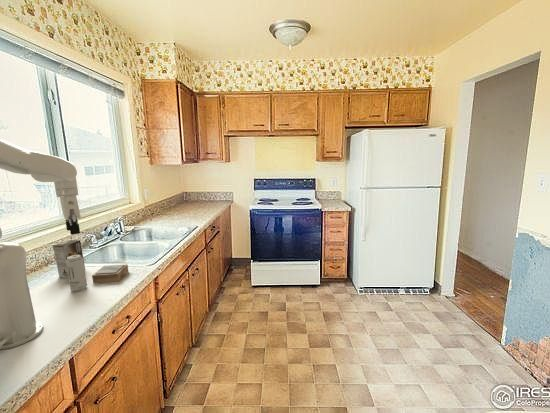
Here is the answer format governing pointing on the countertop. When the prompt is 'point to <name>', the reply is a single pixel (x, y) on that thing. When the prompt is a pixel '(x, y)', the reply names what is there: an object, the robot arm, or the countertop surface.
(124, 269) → the plate
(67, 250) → the coffee box
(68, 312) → the countertop surface
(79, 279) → the energy drink can
